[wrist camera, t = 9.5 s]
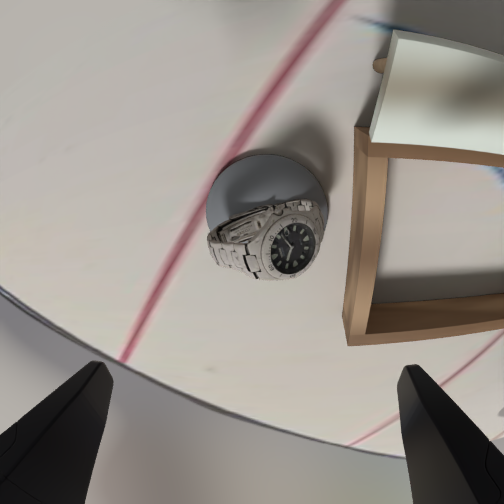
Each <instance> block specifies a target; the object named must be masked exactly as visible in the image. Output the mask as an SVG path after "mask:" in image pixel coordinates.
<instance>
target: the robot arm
mask: <svg viewBox="0 0 504 504" xmlns="http://www.w3.org/2000/svg"><path fill="white" fill-rule="evenodd" d="M112 389H113V378H112V376H111V374H110V372H109V370H108V368H107V367H106V365H105V363H103V362H101V361H91V362H89V363H88V364H87V365H85V366H84V367H83V368H82V369H80V370H79V371H78V372H77V373H76V374H74V375H73V376H72V377H71V378H69V379H68V380H67V381H66V382H65V383H63V384H62V385H61V386H59V387H58V388H57V389H56V390H55V391H53V392H52V393H51V394H50V395H48V396H47V397H46V398H45V399H44V400H42V401H41V402H40V403H39V404H37V405H36V406H35V407H34V408H33V409H31V410H30V411H29V412H28V413H27V414H25V415H24V416H23V417H22V418H21V419H20V420H18V422H16V423H14V424H13V425H12V426H11V427H9V428H8V429H7V430H6V431H4V432H3V433H2V434H1V435H0V504H85V499H86V495H87V491H88V487H89V483H90V479H91V475H92V471H93V468H94V464H95V460H96V456H97V453H98V449H99V445H100V442H101V439H102V435H103V432H104V428H105V424H106V420H107V415H108V409H109V404H110V398H111V394H112ZM397 392H398V401H399V411H400V423H401V433H402V439H403V445H404V450H405V455H406V461H407V466H408V472H409V478H410V484H411V491H412V498H413V504H504V455H503V454H502V453H501V452H500V451H499V450H498V449H497V448H496V446H495V445H494V444H493V443H492V442H491V441H489V439H488V438H487V437H486V435H485V434H484V433H483V432H482V431H481V430H480V429H479V428H478V427H477V426H476V425H475V424H474V422H473V421H472V420H471V419H470V418H469V417H468V416H467V415H466V414H465V413H464V412H463V411H462V410H461V408H460V407H459V406H458V405H457V404H456V403H455V402H454V401H453V400H452V399H451V398H450V397H449V396H448V395H447V394H446V393H445V392H444V390H443V389H442V388H441V387H440V386H439V385H438V384H437V383H436V382H435V381H434V380H433V379H432V378H431V377H430V376H429V375H428V374H427V373H426V372H425V371H424V370H423V369H422V368H421V367H420V366H419V365H417V364H414V365H407V366H405V367H404V368H403V371H402V373H401V376H400V378H399V381H398V384H397Z"/></svg>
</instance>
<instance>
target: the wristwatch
mask: <svg viewBox="0 0 504 504" xmlns="http://www.w3.org/2000/svg"><path fill="white" fill-rule="evenodd" d="M323 235H324V217H323V214H322V212H321V210H320V208H319V206H318V204H317V203H316V202H315V201H312V200H309V199H305V198H303V199H295V200H291V201H287V202H283V203H279V204H278V203H276V204H274V205H273V204H267V205H262V206H258V207H255V208H253V209H250V210H248V211H245V212H242V213H239V214H234V215H232V216H230V217H229V220H226V221H224V222H222V223H221V224H219V225H218V226H217V227H215V228H214V229H213V230H212V231H211V232H210V233H209V234H208V236H207V242H208V247H209V251H210V254H211V256H212V258H213V259H214V260H215V261H216V263H217V264H218V265H219V266H221V267H225V268H232V269H234V270H237V271H240V272H243V273H245V274H246V275H248V276H249V277H251V278H254V279H258V278H259V279H260V280H266V281H272V280H276V281H277V280H287V279H293V278H296V277H298V276H300V275H301V274H302V273H304V272H305V271H306V270H307V269H308V268H309V267H310V266H311V264H312V263H313V261H314V259H315V257H316V256H317V254H318V252H319V248H320V243H321V242H322V239H323ZM245 241H248V242H247V243H242V242H245ZM238 242H239V243H238Z"/></svg>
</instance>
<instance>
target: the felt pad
mask: <svg viewBox="0 0 504 504" xmlns="http://www.w3.org/2000/svg"><path fill="white" fill-rule="evenodd" d="M303 198H305V199H309V200H312V201H315V202H316V203H317V204H318V206H319V208H320V210H321V212H322V214H323V217H324V231H325V228H326V224H327V217H328V210H327V202H326V198H325V195H324V192H323V190H322V188H321V186H320V184H319V182H318V181H317V179H316V178H315V177H314V176H313V175H312V173H311V172H310V171H309V170H307V169H306V168H305V167H304V166H302V165H301V164H299V163H297V162H296V161H294V160H291V159H289V158H286V157H283V156H278V155H272V154H261V155H254V156H250V157H246V158H243V159H241V160H239V161H237V162H235V163H233V164H232V165H230V166H229V167H228V168H226V169H225V170H224V171H223V172H222V173H221V174H220V175H219V177H218V178H217V179H216V181H215V182H214V184H213V186H212V188H211V190H210V192H209V195H208V199H207V204H206V218H207V223H208V226H209V229H210V232H211V231H212V230H213V229H214V228H215V227H217V226H218V225H219V224H221V223H222V222H224V221H226V220H229V217H230V216H232V215H234V214H239V213H242V212H245V211H248V210H250V209H253V208H255V207H258V206H262V205H267V204H273V205H274V204H276V203H278V204H279V203H283V202H287V201H291V200H295V199H303ZM247 242H248V241H245V242H242V243H247ZM238 243H239V242H238Z"/></svg>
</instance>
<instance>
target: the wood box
mask: <svg viewBox="0 0 504 504" xmlns="http://www.w3.org/2000/svg"><path fill="white" fill-rule="evenodd" d="M373 69H374V70H375V71H376V72H378V73H384V74H383V79H382V83H381V87H380V91H379V95H378V99H377V103H376V107H375V111H374V115H373V119H372V122H371V126H370V127H354V174H353V198H352V216H351V231H350V244H349V256H348V267H347V277H346V287H345V296H344V304H343V312H342V319H343V324H344V329H345V334H346V339H347V344H348V346H360V345H375V344H387V343H399V342H409V341H418V340H427V339H436V338H444V337H451V336H459V335H466V334H472V333H479V332H485V331H491V330H497V329H502V328H504V293H501V294H492V295H483V296H473V297H463V298H452V299H440V300H427V301H414V302H399V303H382V304H371V301H372V295H373V289H374V283H375V277H376V271H377V264H378V257H379V250H380V242H381V234H382V225H383V216H384V205H385V194H386V181H387V166H388V158H405V159H422V160H436V161H448V162H459V163H469V164H479V165H487V166H495V167H503V168H504V55H501V54H498V53H495V52H492V51H488V50H485V49H482V48H478V47H475V46H471V45H468V44H464V43H460V42H456V41H452V40H448V39H443V38H439V37H434V36H429V35H424V34H419V33H413V32H407V31H400V30H393V33H392V38H391V43H390V48H389V52H388V57H387V58H381V59H376V60H375V61H374V62H373Z"/></svg>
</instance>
